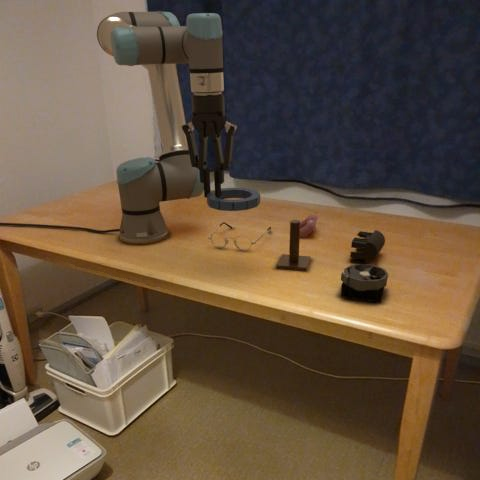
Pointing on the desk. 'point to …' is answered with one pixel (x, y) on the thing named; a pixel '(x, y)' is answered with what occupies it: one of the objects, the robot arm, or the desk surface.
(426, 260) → the desk surface
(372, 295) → the cpu cooler
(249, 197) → the dark blue segmented ring
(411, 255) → the desk surface
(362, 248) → the end cap
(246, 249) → the eyeglasses
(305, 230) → the video game controller
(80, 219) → the desk surface
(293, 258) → the stand
